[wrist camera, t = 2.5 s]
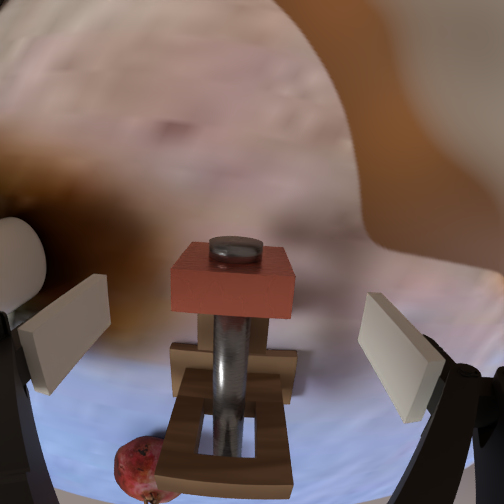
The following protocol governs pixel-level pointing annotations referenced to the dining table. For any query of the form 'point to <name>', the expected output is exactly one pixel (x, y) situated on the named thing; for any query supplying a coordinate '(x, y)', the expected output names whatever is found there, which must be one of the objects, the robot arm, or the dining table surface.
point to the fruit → (141, 470)
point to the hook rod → (232, 315)
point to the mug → (19, 263)
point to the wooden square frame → (256, 406)
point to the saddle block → (256, 333)
